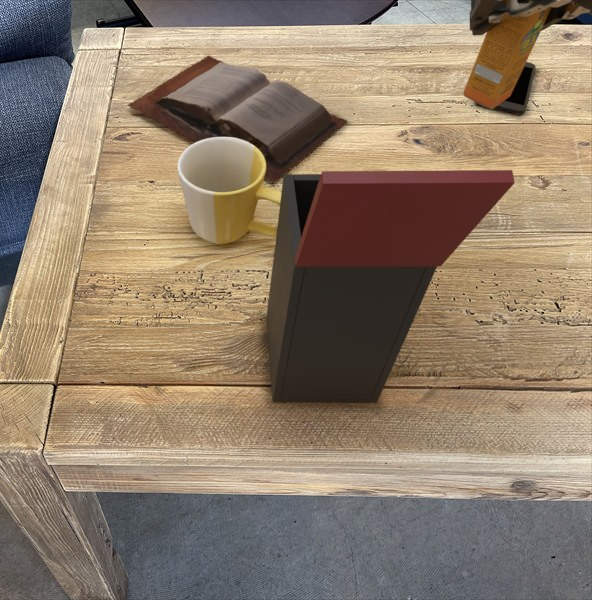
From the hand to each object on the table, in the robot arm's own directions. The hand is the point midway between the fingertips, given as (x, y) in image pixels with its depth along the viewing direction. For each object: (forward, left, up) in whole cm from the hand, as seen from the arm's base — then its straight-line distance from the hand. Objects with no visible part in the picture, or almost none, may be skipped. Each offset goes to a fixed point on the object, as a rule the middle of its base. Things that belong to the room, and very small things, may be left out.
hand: (504, 21), depth 52 cm
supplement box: (-1, +2, -6) cm, 7 cm away
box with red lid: (+6, +21, -28) cm, 35 cm away
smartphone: (-5, -41, -28) cm, 50 cm away
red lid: (+3, +27, -1) cm, 27 cm away
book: (+31, -17, -28) cm, 45 cm away
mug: (+22, +7, -28) cm, 37 cm away
